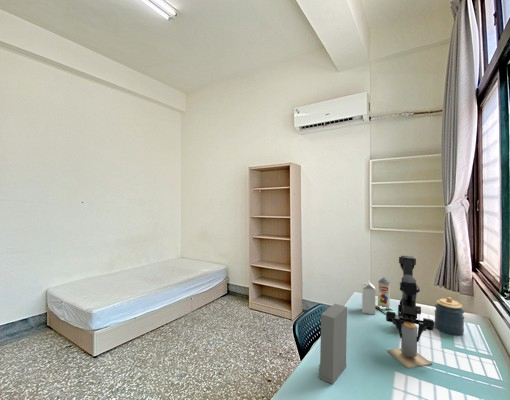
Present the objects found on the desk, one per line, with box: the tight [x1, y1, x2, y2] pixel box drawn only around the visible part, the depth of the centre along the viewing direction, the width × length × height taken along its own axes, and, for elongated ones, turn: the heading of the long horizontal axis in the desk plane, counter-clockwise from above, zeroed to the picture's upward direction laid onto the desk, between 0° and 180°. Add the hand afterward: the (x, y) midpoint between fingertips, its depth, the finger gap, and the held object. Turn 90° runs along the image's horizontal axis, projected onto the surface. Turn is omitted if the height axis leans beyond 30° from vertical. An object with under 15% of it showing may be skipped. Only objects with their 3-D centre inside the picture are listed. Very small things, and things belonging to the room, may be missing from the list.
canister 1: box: [400, 322, 418, 357], centre depth 116 cm, size 6×6×13 cm
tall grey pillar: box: [317, 303, 348, 385], centre depth 106 cm, size 14×6×25 cm, turn 141°
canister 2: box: [433, 296, 465, 336], centre depth 142 cm, size 13×13×18 cm
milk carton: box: [361, 279, 377, 315], centre depth 164 cm, size 7×7×19 cm
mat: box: [387, 348, 433, 369], centre depth 116 cm, size 12×12×1 cm
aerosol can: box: [377, 276, 391, 309], centre depth 169 cm, size 7×7×20 cm
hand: (409, 339), depth 115 cm, fingers closed on canister 1, 6 cm apart
